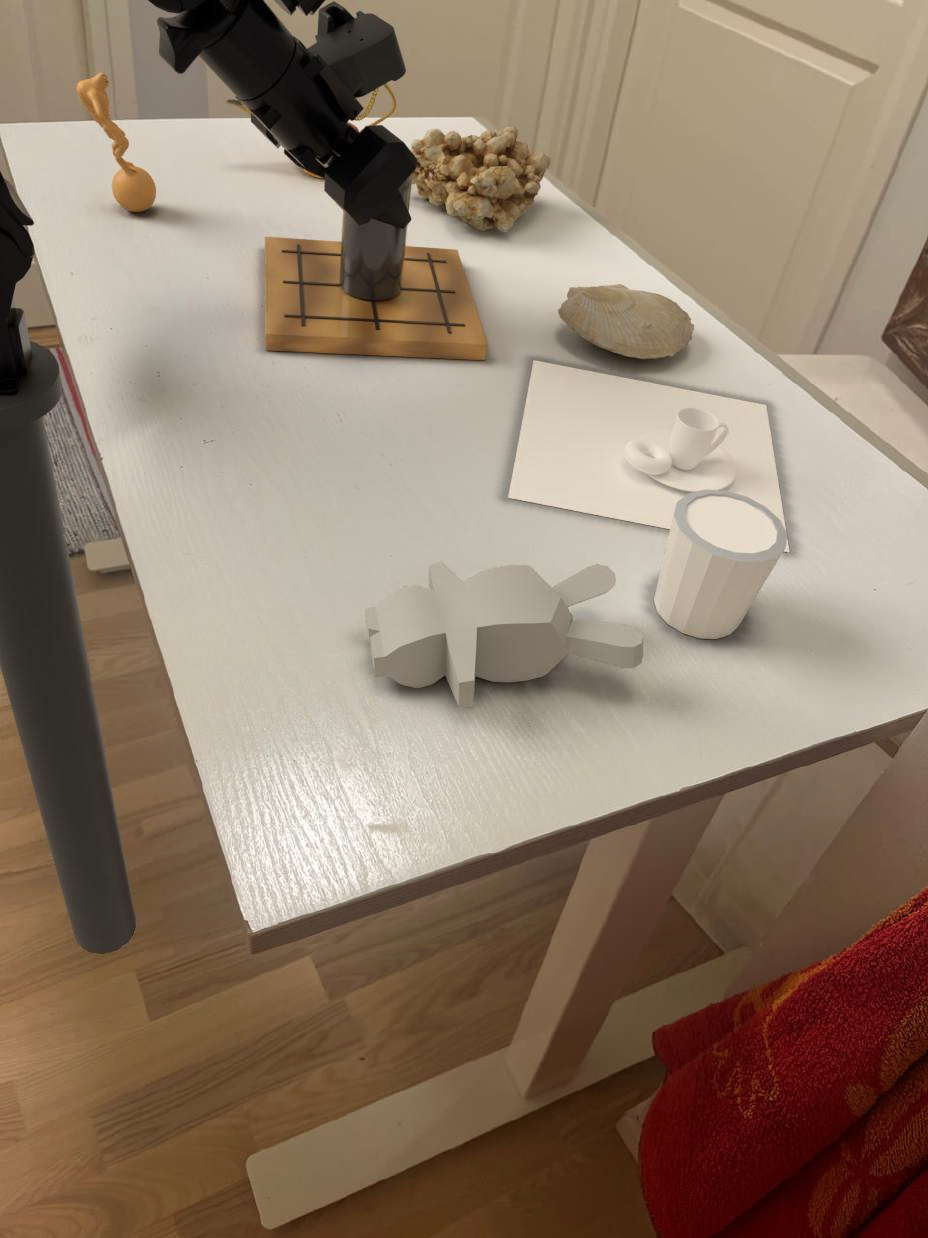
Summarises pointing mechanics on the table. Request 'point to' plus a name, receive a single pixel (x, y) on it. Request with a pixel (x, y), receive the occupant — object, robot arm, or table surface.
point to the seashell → (627, 320)
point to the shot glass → (716, 561)
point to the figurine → (117, 148)
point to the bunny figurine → (492, 628)
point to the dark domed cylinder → (373, 255)
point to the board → (368, 305)
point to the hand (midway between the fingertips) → (390, 209)
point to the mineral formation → (479, 175)
